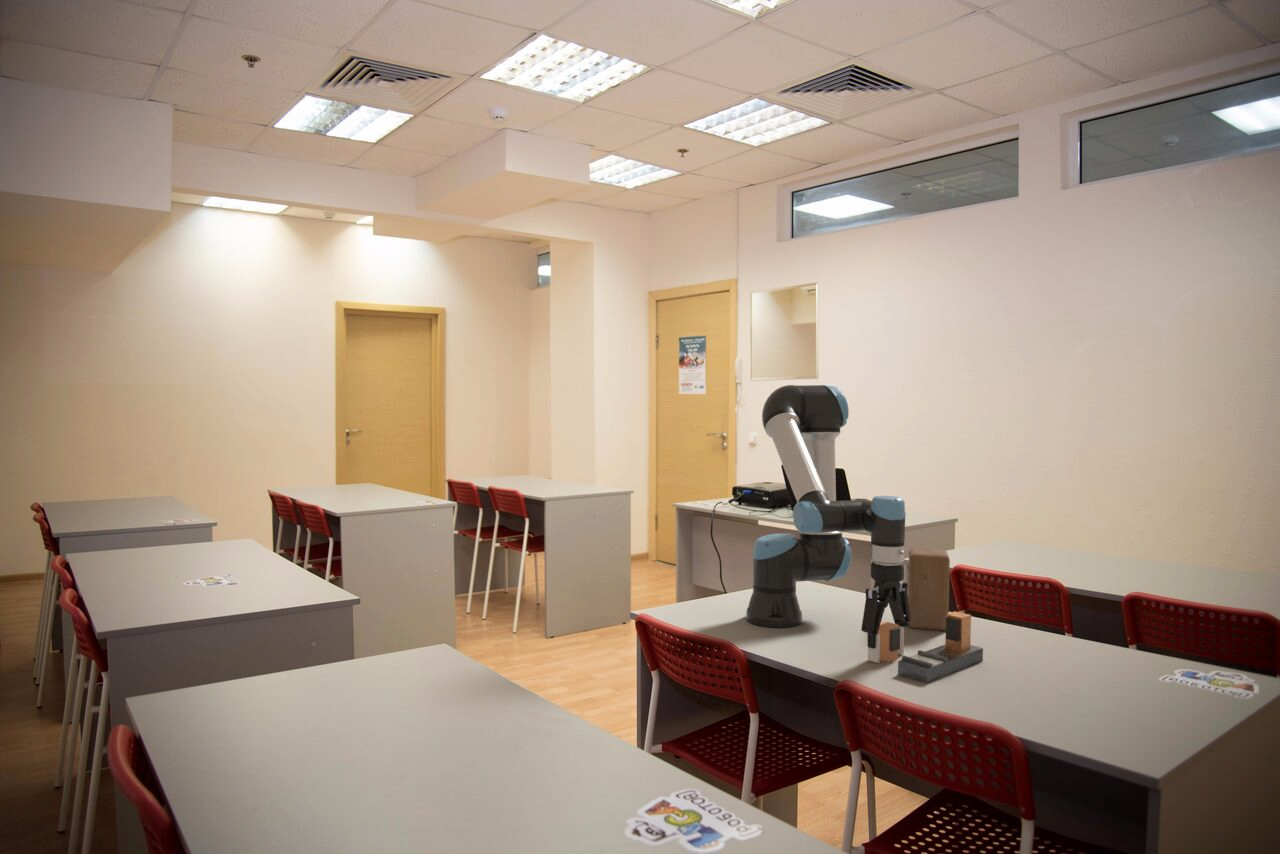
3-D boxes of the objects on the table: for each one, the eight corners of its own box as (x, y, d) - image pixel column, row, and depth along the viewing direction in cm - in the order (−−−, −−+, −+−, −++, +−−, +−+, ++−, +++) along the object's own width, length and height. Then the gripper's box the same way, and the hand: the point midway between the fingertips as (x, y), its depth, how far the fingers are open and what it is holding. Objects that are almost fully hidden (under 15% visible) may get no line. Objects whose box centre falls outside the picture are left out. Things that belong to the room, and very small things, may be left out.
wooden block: (908, 628, 218) (909, 554, 217) (907, 618, 228) (908, 547, 227) (948, 632, 215) (950, 556, 214) (945, 622, 225) (947, 549, 224)
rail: (897, 674, 182) (898, 625, 181) (954, 653, 197) (955, 608, 197) (926, 683, 177) (927, 632, 176) (982, 660, 192) (983, 614, 191)
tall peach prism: (883, 654, 196) (883, 621, 196) (900, 659, 193) (901, 625, 192) (873, 657, 194) (873, 624, 193) (891, 662, 190) (891, 628, 190)
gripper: (873, 571, 183) (872, 670, 184) (927, 559, 197) (925, 652, 197) (845, 565, 189) (844, 662, 189) (899, 554, 203) (898, 644, 203)
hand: (885, 657), depth 193 cm, fingers open, 9 cm apart
